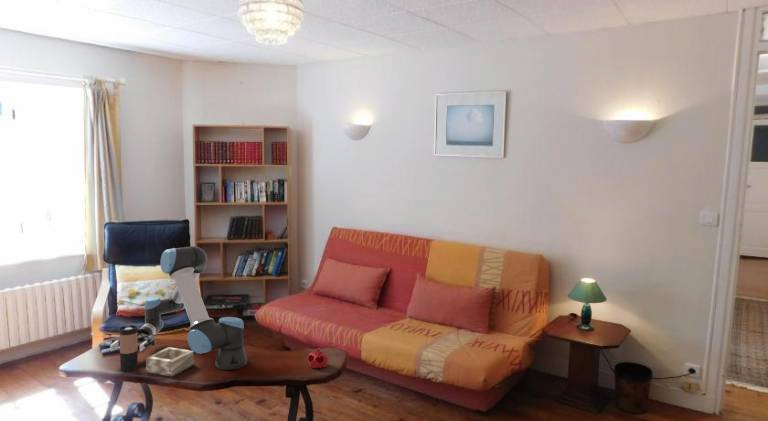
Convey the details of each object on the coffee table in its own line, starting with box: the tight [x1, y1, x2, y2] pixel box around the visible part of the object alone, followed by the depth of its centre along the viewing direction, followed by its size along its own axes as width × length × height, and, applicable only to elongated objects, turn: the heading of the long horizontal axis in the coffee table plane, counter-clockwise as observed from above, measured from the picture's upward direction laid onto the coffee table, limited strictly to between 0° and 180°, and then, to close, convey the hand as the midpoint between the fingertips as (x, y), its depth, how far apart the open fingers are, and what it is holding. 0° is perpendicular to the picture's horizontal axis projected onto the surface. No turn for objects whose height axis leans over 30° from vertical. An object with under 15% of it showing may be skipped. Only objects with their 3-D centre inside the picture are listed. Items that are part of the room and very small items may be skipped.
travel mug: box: [119, 324, 139, 372], centre depth 242 cm, size 8×8×20 cm
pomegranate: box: [307, 347, 329, 369], centre depth 251 cm, size 10×10×9 cm
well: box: [145, 346, 195, 377], centre depth 244 cm, size 15×15×7 cm
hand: (125, 348), depth 239 cm, fingers open, 13 cm apart
